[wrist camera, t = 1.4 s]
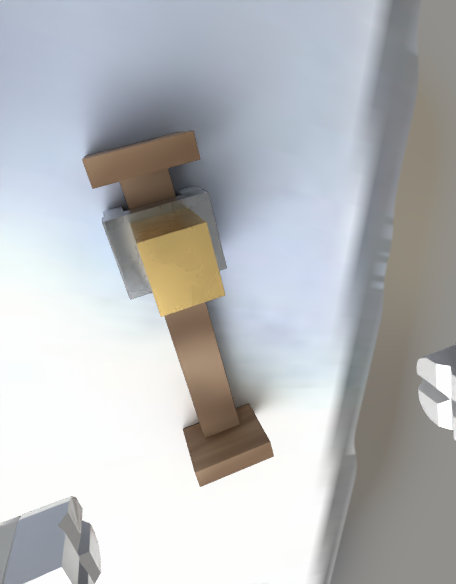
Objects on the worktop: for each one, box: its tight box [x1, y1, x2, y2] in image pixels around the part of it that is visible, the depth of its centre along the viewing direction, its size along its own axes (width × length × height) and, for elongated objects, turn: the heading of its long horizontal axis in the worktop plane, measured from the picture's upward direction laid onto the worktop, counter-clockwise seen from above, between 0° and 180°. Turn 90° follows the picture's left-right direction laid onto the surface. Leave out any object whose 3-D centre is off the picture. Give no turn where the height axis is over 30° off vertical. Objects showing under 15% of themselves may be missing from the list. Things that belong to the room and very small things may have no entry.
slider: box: [102, 186, 227, 317], centre depth 24 cm, size 5×6×9 cm
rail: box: [82, 131, 274, 487], centre depth 29 cm, size 24×6×5 cm, turn 14°
